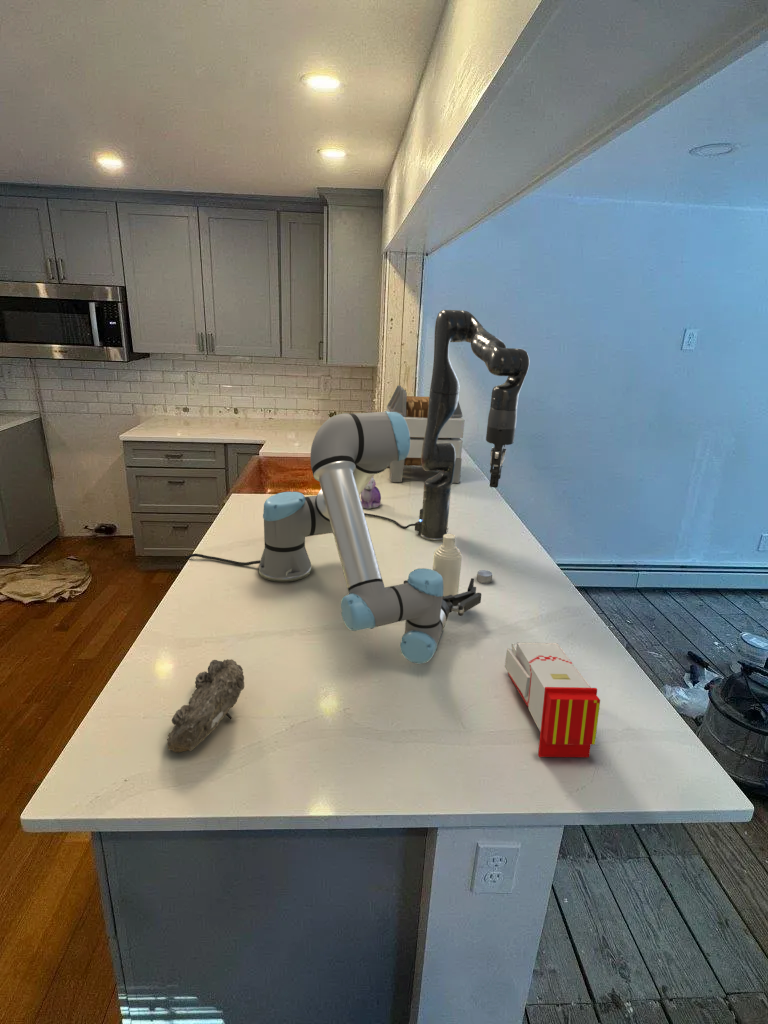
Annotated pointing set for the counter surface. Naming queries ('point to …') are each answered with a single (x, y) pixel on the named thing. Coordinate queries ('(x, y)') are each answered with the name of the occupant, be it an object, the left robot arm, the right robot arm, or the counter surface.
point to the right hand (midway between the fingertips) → (495, 482)
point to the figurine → (370, 495)
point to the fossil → (206, 705)
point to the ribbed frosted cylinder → (448, 564)
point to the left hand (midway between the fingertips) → (447, 578)
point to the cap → (484, 576)
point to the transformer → (423, 431)
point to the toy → (555, 698)
